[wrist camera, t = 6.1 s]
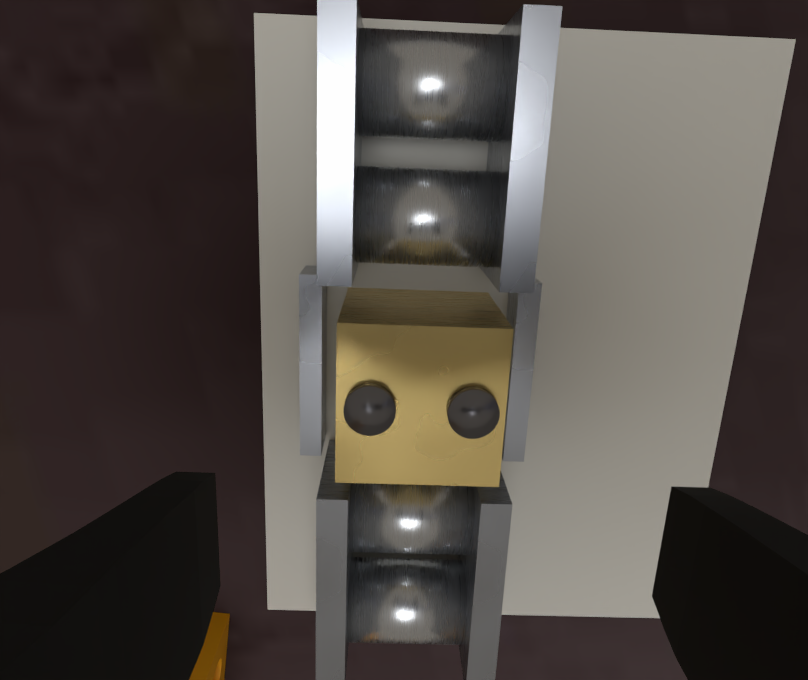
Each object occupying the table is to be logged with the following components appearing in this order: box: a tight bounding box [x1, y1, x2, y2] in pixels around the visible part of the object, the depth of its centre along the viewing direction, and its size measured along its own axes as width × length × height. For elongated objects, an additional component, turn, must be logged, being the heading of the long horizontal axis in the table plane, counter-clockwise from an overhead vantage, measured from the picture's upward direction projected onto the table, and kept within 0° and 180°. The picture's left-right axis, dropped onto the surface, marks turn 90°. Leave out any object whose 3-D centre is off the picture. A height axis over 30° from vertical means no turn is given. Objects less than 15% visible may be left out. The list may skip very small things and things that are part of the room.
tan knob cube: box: [335, 287, 514, 487], centre depth 17 cm, size 4×4×4 cm
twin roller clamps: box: [299, 0, 562, 680], centre depth 17 cm, size 6×18×4 cm, turn 178°
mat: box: [254, 13, 796, 618], centre depth 19 cm, size 14×18×1 cm
